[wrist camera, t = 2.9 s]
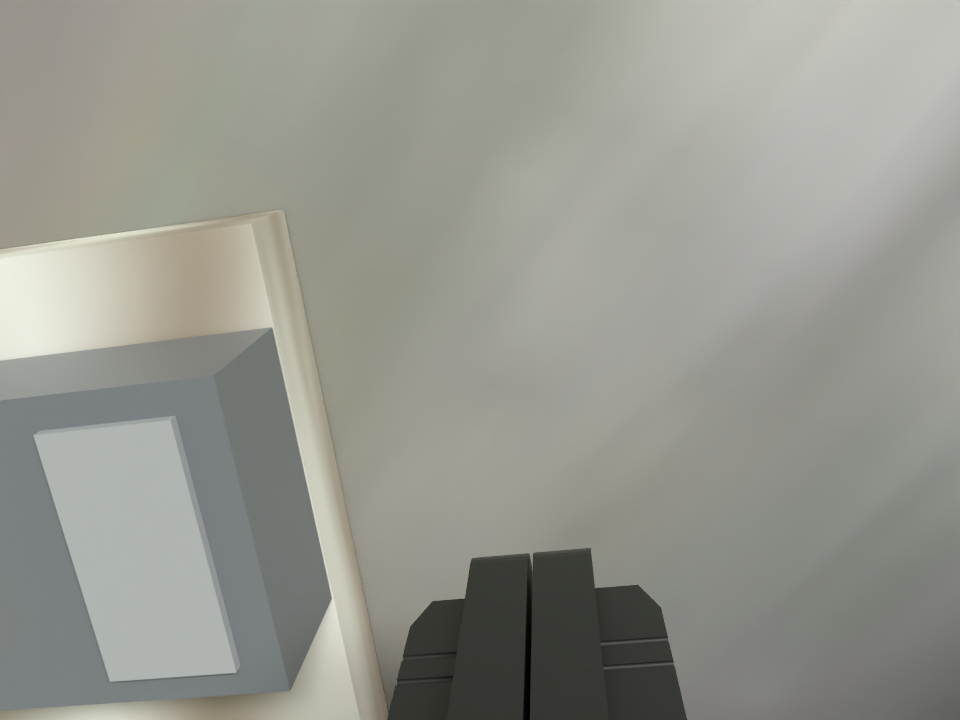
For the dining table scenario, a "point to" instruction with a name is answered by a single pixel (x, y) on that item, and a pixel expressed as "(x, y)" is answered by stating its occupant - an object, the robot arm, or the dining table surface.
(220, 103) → the dining table surface
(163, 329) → the board
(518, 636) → the robot arm
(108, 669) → the block
